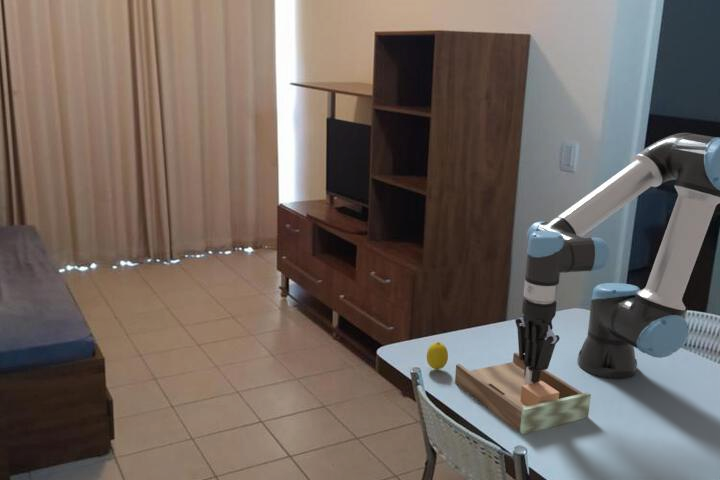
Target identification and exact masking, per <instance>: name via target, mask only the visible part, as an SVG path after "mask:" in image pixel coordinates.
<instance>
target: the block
mask: <svg viewBox="0 0 720 480" xmlns="http://www.w3.org/2000/svg"><path fill="white" fill-rule="evenodd" d="M557 399H559V392H558V391H557V390H555V389H554V388H552V387H551V386H549V385H548V384H546V383H544V382H543V381H540V382H537V383H531V384H527V385H522V390H521V400H520V401H521V402H522V403H524V404H525V405H527V406H533V405H537V404H541V403H545V402H549V401H553V400H557Z"/></svg>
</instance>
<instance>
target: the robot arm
mask: <svg viewBox="0 0 720 480" xmlns="http://www.w3.org/2000/svg"><path fill="white" fill-rule="evenodd" d="M671 180H676V181H675V184H674V188H675V190H676V192H677V198H676V201H675V204H674V206H673V209H672V212H671V214H670V215H671V216H670V218H669V221H668V223H667V227H666V229H665V232H664V235H663V237H662V241H661V242H660V243H661V244H660V246H659V249H658V252H657V254H656V257H655V260H654V263H653V265H652V269H651V272H650V273H649V276H648V280H647V283H646V285H645V287H644V288H643V289H641V288H640V287H639V286H637V285H634V284H630V283H629V284H628V283H621V282H607V283H600V284H598V285H596V286H595V287H594V288H593V291H592V295H591V298H590V308H589V309H590V310H589V318H588V319H589V320H588V329H587V336H586V338H585V339H584V342H583V343H582V344H583V345H582V347H581V349H580V350H579V352H578V356H577V364H578V366H579V367H580V368H581V369H582V370H584V371H585V372H588V373H589V374H592V375H594V376H597V377H601V378H607V379H627V378H630V377H633V376H634V375H635V374H636V373H637V368H638V360H637V358H636V353H635V349H637V350H638V351H640V352H641V353H643V354H646V355H648V356H651V357H653V358H659V359H660V358H667V357H670V356H672V355H673V354H674V353H676V352H678V351H679V350H680V349H681V348H682V347H683V346H684V344H685V342H686V341H687V339H688V336H689V326H688V325H689V324H688V322H687V321H686V320H685V318H684V314H685V312H686V309H687V307H686V306H685V304H684V302H683V297H684V294H685V292H686V289H687V286H688V283H689V281H690V277H691V274H692V272H693V269H694V267H695V264H696V261H697V258H698V256H699V253H700V251H701V248H702V246H703V242H704V239H705V236H706V235H707V232H708V229H709V226H710V223H711V221H712V217H713V215H714V212H715V210H716V207H717V205H719V204H720V136H719V137H717V136H709V135H704V134H696V133H691V132H679V133H675V134H672V135H668V136H666V137H663V138H661V139H659V140H657V141H655V142H654V143H652V144H650V145H649V146H647V147H645V148H644V149H642V150H641V151H639V152H638V153H637V154H635V155H633V157H632V159H631V163H628V165H627V166H625V167H624V168H623V169H621V170H619V171H618V172H617V173H615V174H614V175H613V176H611V177H610V178H608V179H607V180H606V181H605V182H603V183H602V184H601V185H598V186H597V187H596V188H595V189H594V190H592V191H591V192H589V193H587V194H586V195H585V196H584V197H582V198H581V199H579V200H578V201H577V202H575V203H574V204H572V205H571V206H569V207H568V208H567V209H565V210H564V211H563V212H561V213H560V214H559V215H557V216H555V218H553V219H551V220H550V221H549V222H548V221H543V220H542V221H537V222H534V223H533V224H532V225H531V226H530V227H529V228H528V230H527V232H526V242H527V250H526V265H525V275H524V286H523V296H524V297H523V298H522V307H521V313H522V315H523V316H522V317H521V318H520V317H519V318H516V319H515V325H516V329H517V339H518V341H517V342H518V345H517V346H518V354H519V358H520V360H523V361H524V365H525V373H524V376H525V385H527V384H531V383H537V382H539V381H540V372H541V370H546V371H547V370H548V369H549V366H550V363H551V360H552V357H553V353H554V351H555V347H556V346H557V345H556V344H557V343H558V342H559V341H560V335H558V334H557V335H555V333H554V331H553V328H554V327H553V323H552V322H553V319H554V318H555V317H556V314H557V313H556V312H557V306H558V305H557V303H558V302H557V300H558V298H559V297H558V296H559V284H560V279H561V274H566V273H577V272H578V273H579V272H580V273H581V272H592V271H597V270H602V269H604V268H605V267H606V266H607V265H608V262H609V260H610V250H609V246H608V244H607V242H606V241H605V240H604V239H603V238H601V237H592V236H590V237H583V236H584V235H586V234H588V232H590V231H591V230H593V229H594V228H595V227H597V226H599V225H600V224H601V223H603V222H604V221H605V220H607V219H609V218H610V216H612V215H613V214H615V213H616V212H618V211H619V210H620V209H622V208H623V207H625V206H626V205H628V204H629V203H630V202H631V201H633V200H634V199H636V198H637V197H638V196H641V194H643V193H644V192H645V191H647V190H648V189H650V188H651V187H653V188H656V187H657V188H658V187H659V186H661V185H662V184H663V183H666V182H667V181H671Z"/></svg>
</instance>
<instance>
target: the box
mask: <svg viewBox="0 0 720 480" xmlns="http://www.w3.org/2000/svg"><path fill="white" fill-rule="evenodd" d="M524 373H525V365H524V361H523V360H520V358H519V352H513V357H512V361H511V362H506V363H501V364H496V365H491V366H487V367H482V368H481V367H480V368H477V369H472V370H469V369H467V367H465V366H463V365H461V364H460V363H457V364H456V365H455V376H454V378H455V379H454V384H456V385H457V386H459V387H460V388H461V389H463V390H464V391H465V392H466V393H467V394H469V396H470V395H471V396H472V397H473V398H475V400H477V401H478V402H479V403H481V404H482V405H484V406H485V407H486V408H487V409H488V410H490V411H491V412H493V413H494V414H495V415H497V416H498V417H499V418H501V419H502V420H503V421H504V422H506V423H507V424H508V425H509V426H511V427H513V428H514V429H515V430H516V431H517V432H519V433H520V434H522V435H526V434H527V435H528V434H530V433H533V432H537V431H542V430H545V429H549V428H553V427H556V426H560V425H564V424H567V423H572V422H576V421H578V420H579V421H580V420H583V419H587V418H589V414H590V406H591V398H592V394H591V393H590V392H588V391H586V392H582V391H580V390H579V389H577V388H575V387H574V386H572V385H571V384H569V383H567V382H565V380H562V379H560V378H559V377H557V376H556V375H554V374H552V373H551V372H549V371H548V370H547V369H546V370H541V372H540V381H543V382H544V383H546V384H548V385H549V386H551V387H552V388H554V389H555V390H557V391H558V392H559V399H557V400H553V401H549V402H545V403H541V404H537V405H533V406H527V405H525V404H524V403H522V402H521V401H520V400H521V390H522V385H525V376H524ZM540 381H539V382H540Z"/></svg>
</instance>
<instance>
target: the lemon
mask: <svg viewBox="0 0 720 480" xmlns="http://www.w3.org/2000/svg"><path fill="white" fill-rule="evenodd" d="M448 354H449V353H448V349H447V347H446V345H445V344H443V343H441V342H439V341H437V342H433V343H432V344H430V346H429V347H428V349H427V350H426V361H427V362H426V363H427V364H428V365H429V367H430V368H432V369H433V370H435V371H439V370H441V369H442V368H443V369H444V367H446V365H447V363H448V359H449V355H448Z"/></svg>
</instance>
